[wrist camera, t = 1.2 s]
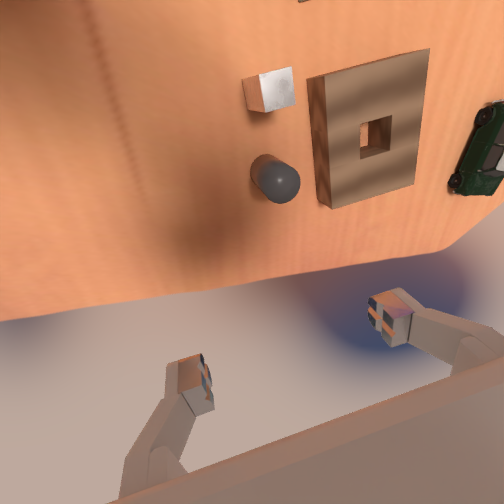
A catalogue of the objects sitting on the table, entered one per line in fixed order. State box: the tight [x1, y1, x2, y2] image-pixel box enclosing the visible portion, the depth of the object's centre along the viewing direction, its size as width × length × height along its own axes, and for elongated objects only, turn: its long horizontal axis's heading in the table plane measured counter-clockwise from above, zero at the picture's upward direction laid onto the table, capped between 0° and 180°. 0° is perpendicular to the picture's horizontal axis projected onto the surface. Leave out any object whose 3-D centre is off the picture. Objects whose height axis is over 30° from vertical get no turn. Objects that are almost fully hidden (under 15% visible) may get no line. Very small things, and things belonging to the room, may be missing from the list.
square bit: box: [242, 66, 296, 113], centre depth 36 cm, size 4×4×10 cm
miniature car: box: [448, 99, 504, 196], centre depth 52 cm, size 9×18×8 cm, turn 176°
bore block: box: [307, 48, 430, 210], centre depth 45 cm, size 20×16×6 cm
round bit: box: [250, 154, 300, 204], centre depth 43 cm, size 6×6×9 cm
